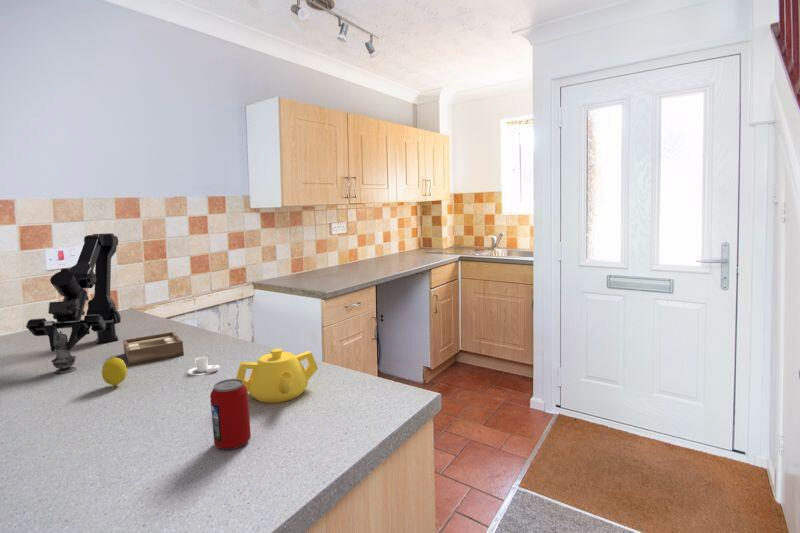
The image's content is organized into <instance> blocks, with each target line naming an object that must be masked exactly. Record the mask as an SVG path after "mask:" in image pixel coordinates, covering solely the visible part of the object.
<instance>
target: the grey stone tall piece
mask: <svg viewBox="0 0 800 533" xmlns="http://www.w3.org/2000/svg"><path fill="white" fill-rule="evenodd" d="M58 332H59V334H58V335H57V336H56V337H55V342H56V347H55V351H56V352H55V353H56V355H55V356H56V357H55V358H54V359H52V360H51V361H50V363H52V365H53V366H54V368H56V370H55V371H54V372H53V374H54V375H64V374H68V373H71V372H74V371H77V367H75V366H74V365H75V362H76V358H77V356H76V355H72V354H71V352H70V350H67V344H68V341H69V338H68V335H67V334H66V333H63V331H61V330H60V331H58Z"/></svg>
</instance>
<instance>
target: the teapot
mask: <svg viewBox="0 0 800 533" xmlns="http://www.w3.org/2000/svg"><path fill="white" fill-rule="evenodd" d="M269 352H270V353H266V354H263V355H261V356H260V357H259V358H258V360H257V361H256V362H254V361H252V362H251V361H250V362H249V361H241V362H240V363H239V366H238V371H237V374H236V377H235V379H240V380H242V381H243V384H244V385H245V386H246V388H247V391H248V393H249V394H250V395H251V396H252V397H253V398H254V399H255V400H256V401H258V402H261V403H268V404H271V403H272V404H274V403H275V404H276V403H282V402H286V401H291V400H294V399H296V398H297V397H299V396H301V395H302V393H303V392H304V391H305V390H307V389H306V388H307V387H308V384H309V380H310V379H311V377H312V376H313V375H314V374H315V373H316V372H317V370H319V367H318V365H317V362H316V360H315V358H314V355H313V354H312V352H311V350H308V351H304V352H301V353H299V354H296V355H295V354H294V353H292V352H291V351H283V349H282V348H273V349H272V350H269ZM304 360H306V361H307V363H308V366H307V367H306V368H305V367H304V365H303V364H302V362H301V361H304ZM247 369H249V370H251V373H250V376H249V379H247V378H246V373H247Z"/></svg>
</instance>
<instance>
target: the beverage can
mask: <svg viewBox="0 0 800 533" xmlns="http://www.w3.org/2000/svg"><path fill="white" fill-rule="evenodd" d="M248 393H249V392H248V391H247V388H246V386H245V385H244V384H243V381H242V380H240V379H236V378H230V379H229V378H228V379H224V380H223V379H222V380H221V381H218V382H217V383H215V384H213V388H212V390H211V392H210V395H209V397H210V410H211V412H210V413H211V422H212V423H211V424H212V433H213V442H214V445H215V446H216V447H217V448H220V449H222V450H234V449H238V448H240V447H242V446H243V445H245V444H246V443H248V441H249V440H250V439H251V436H252V434H251V420H250V405H249V404H250V403H249V394H248Z"/></svg>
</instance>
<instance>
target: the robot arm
mask: <svg viewBox="0 0 800 533" xmlns="http://www.w3.org/2000/svg"><path fill="white" fill-rule="evenodd" d="M118 245H119V238H118V237H117V236H116V235H115V234H114V233H107V232H106V233H92V234H88V235H85V236H84V238H83V244H82V248H81V251H80V254H79V256H78V259H77V262H76V263H75V264H74V265H73V266H71V267H70V268H61V269H60V271H58V272H56V273H54V274H53V275H52V276H51V277H50V281H49V282H50V284H51V285H52V286H53V287H54V289H55V291H57V293H58V294H59V295H60V296H61V297H63V299H62V301H51V302H49V303H48V311H47V312H48V313H47V314H49V315H52V318H53V320H47V319H46V318H45V317H43V318H41V317H40V318H30V319H29V320H28V321H27V323H26V325H25V328H26V329H27V330H28V331H29V332H30V333H31V334H32V335H33V336H35V337H43V336H45V337H46V336H48V341H49V345H50V351H51V352H55V351H56V349H55V347H56V342H55V337H56V336H57V335H58V334H60V333H59V332H60V331H59V330H60V329H61V330H62V329H71V333H70V335H69V338H68V344H67V350H69V351H70V350H72V349H73V348H74V347H75V346H76V345H77V344H78V342H79V341H80V340H82V339H83V338H84V337H85V336H87V335H89V334H90V333H91V332H90V329H91V331H93V332H96V336H97V337H96V338H95V341H96V344H102V343H103V344H104V343H108V342H114V341H119V337H118V335H117V331H116V325H117V324H120V323H121V322H122V321H121V320H122V318H121V317H122V316H121V314H120V312H119V311H118V309H117V307H116V303H115V302H114V300H113V299H112V298H111V279H112V278H111V276H112V273H111V272H112V270H111V269H112V257H113V256H114V255H115V254H116V253H117V249H118V248H117V247H118ZM92 288H94V295H93V297H92V298H91V299H89V296H88V292H87V290H86V289H92ZM86 301H87V310H86V314H85V310H84V309H85V305H86ZM84 315H85V316H84ZM82 316H84V318H83V319H82ZM54 320H56V321H54Z"/></svg>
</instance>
